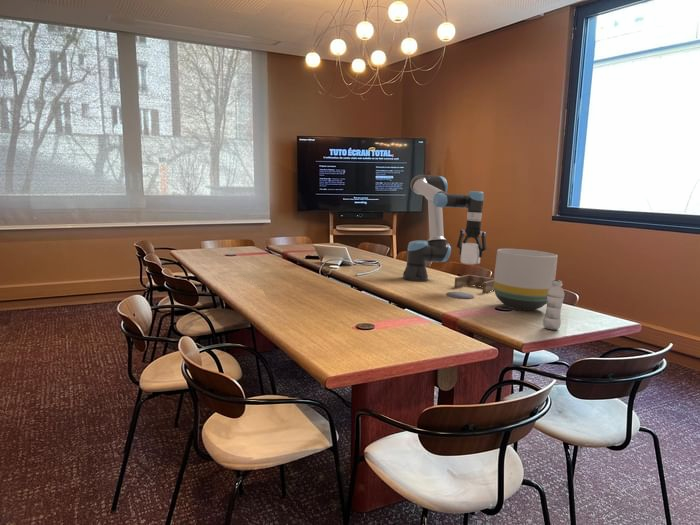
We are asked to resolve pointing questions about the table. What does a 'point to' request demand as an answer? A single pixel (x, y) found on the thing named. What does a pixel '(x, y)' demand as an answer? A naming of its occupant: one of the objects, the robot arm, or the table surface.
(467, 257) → the mug
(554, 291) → the plastic bottle
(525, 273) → the planter
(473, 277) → the dock
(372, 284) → the table surface
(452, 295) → the coaster
